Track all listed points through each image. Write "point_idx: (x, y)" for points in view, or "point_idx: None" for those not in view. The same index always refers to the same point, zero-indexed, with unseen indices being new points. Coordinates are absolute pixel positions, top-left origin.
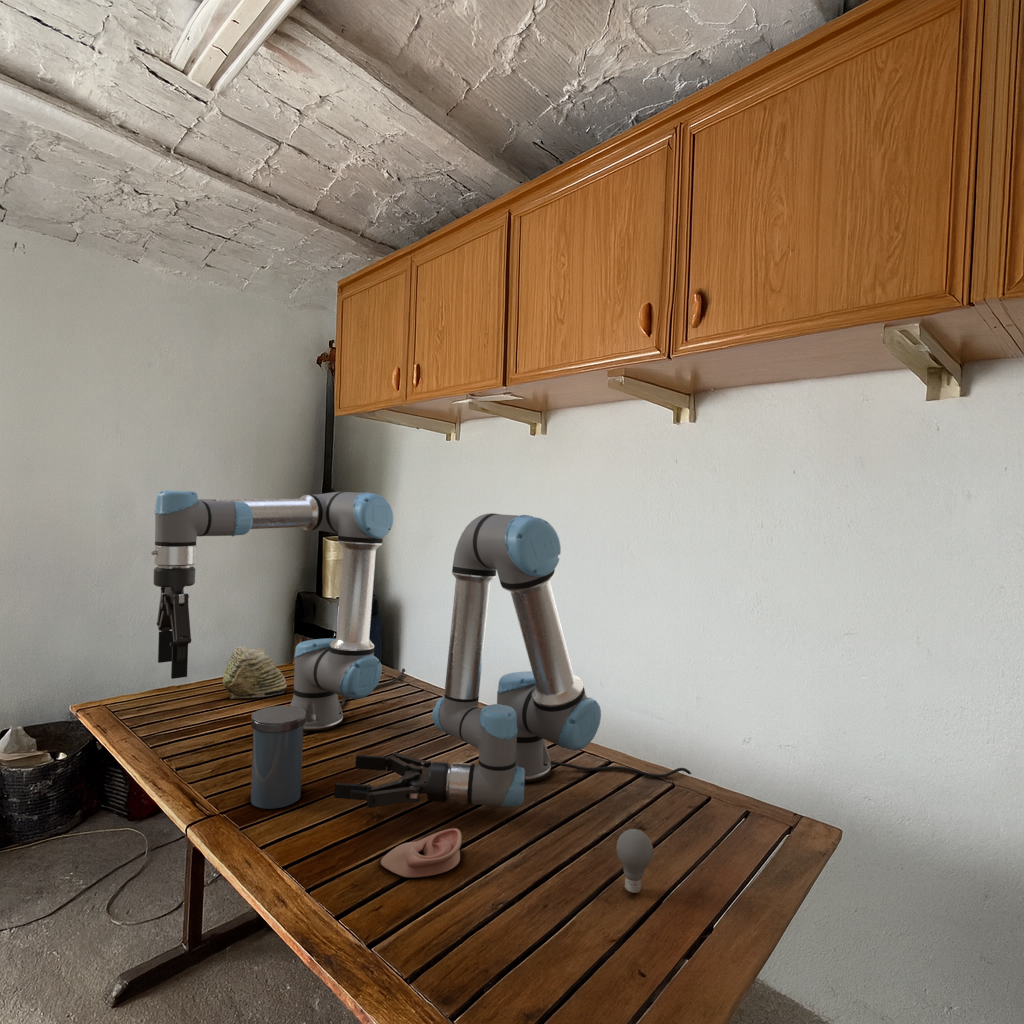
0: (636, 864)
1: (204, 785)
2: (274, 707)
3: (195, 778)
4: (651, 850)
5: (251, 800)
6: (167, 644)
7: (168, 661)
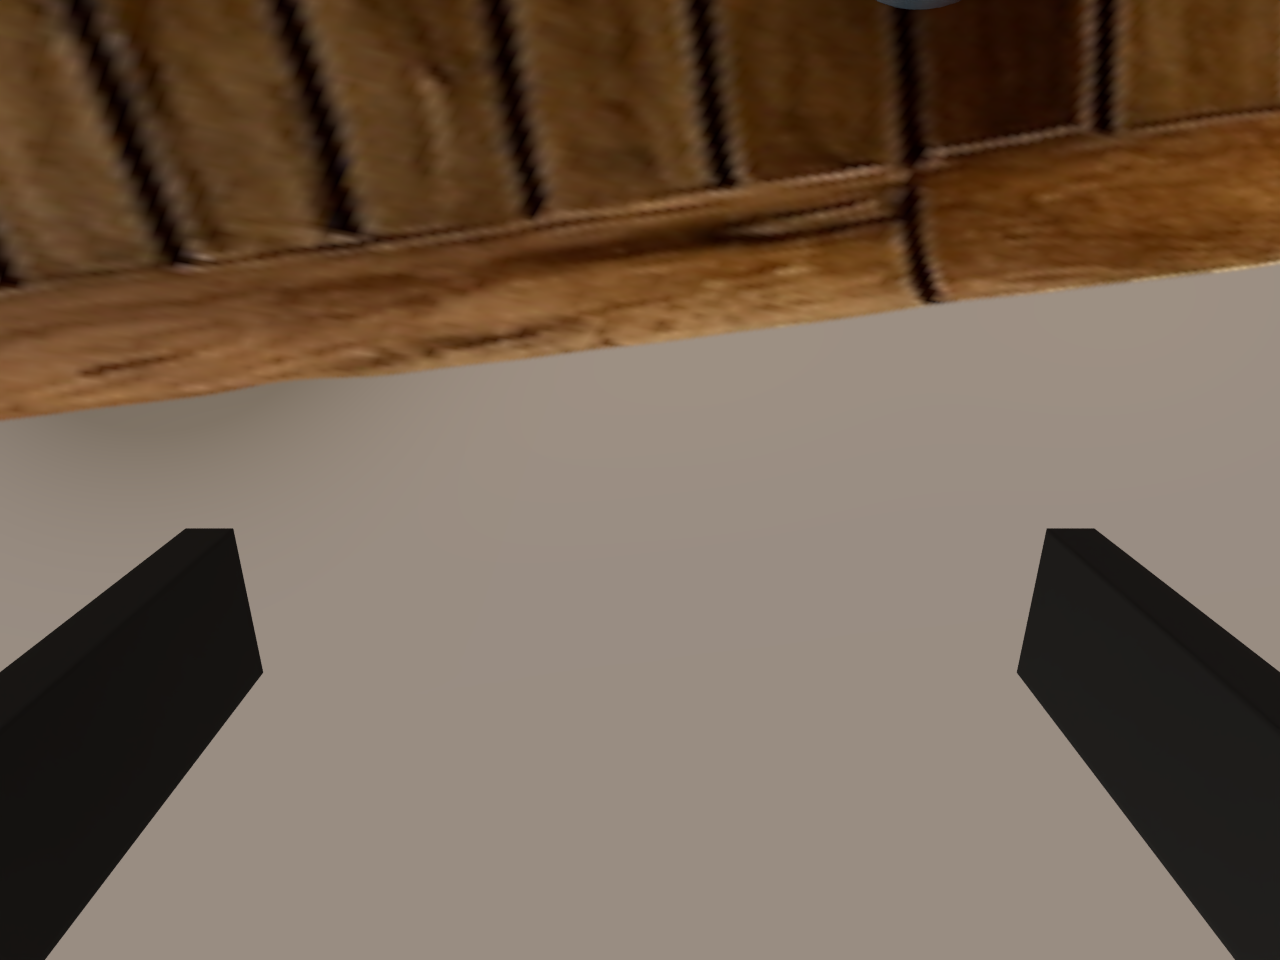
0: None
1: (595, 156)
2: None
3: (494, 175)
4: None
5: (920, 6)
6: (100, 748)
7: (241, 576)
